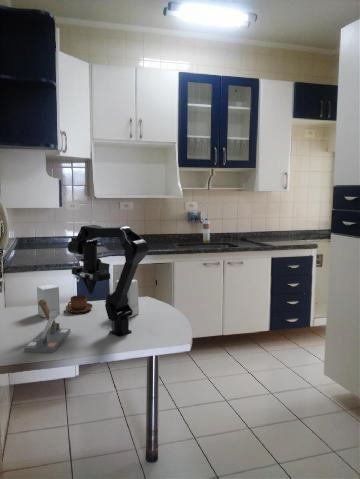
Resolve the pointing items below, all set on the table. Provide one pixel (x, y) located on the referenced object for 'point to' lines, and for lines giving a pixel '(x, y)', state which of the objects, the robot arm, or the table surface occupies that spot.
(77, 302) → the cup and saucer
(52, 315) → the steel lever
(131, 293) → the skincare box
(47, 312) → the walnut lever
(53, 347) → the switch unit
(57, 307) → the supplement box
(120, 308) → the robot arm
